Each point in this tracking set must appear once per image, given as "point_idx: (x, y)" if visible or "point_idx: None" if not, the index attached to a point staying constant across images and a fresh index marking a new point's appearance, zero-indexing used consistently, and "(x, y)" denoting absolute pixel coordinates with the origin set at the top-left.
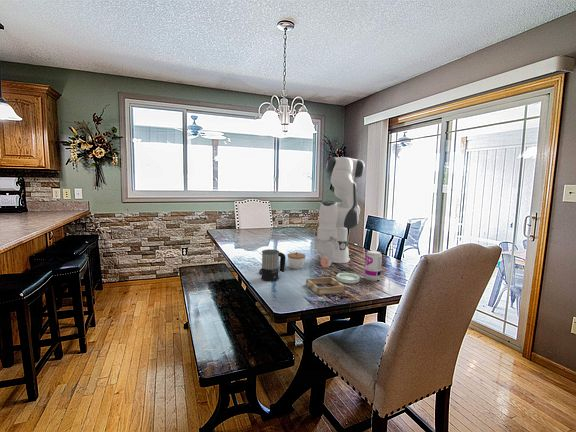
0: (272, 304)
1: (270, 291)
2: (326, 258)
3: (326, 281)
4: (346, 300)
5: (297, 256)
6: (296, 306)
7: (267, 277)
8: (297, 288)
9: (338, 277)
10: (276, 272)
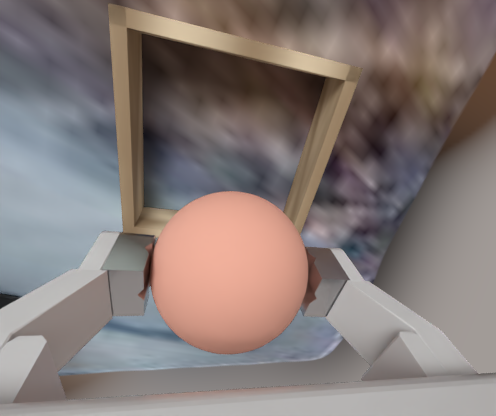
0: (275, 356)
1: (176, 344)
2: (277, 335)
3: (137, 76)
4: (413, 148)
5: None
6: (323, 319)
7: None
8: None
9: None
10: None
